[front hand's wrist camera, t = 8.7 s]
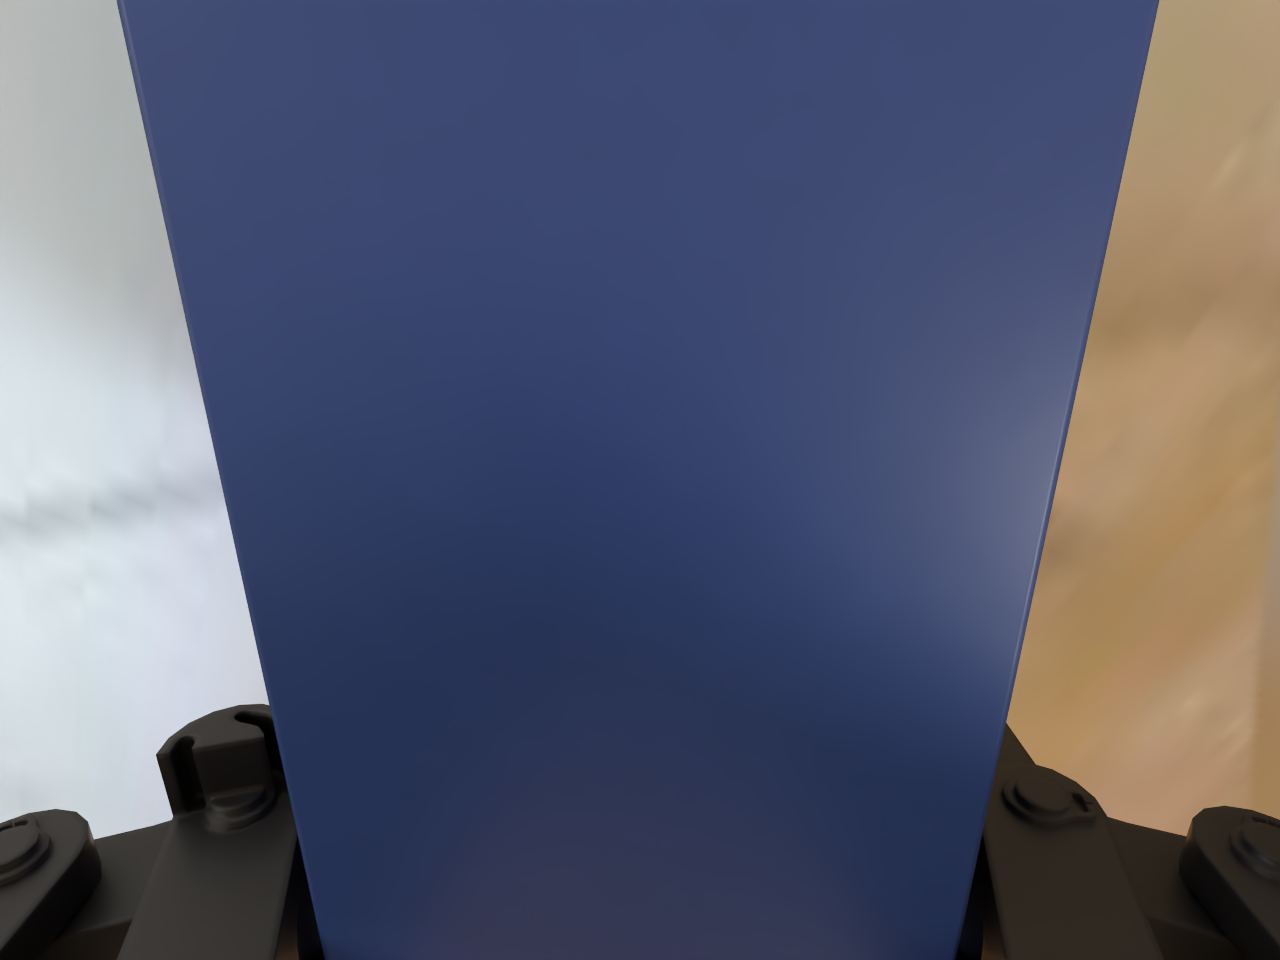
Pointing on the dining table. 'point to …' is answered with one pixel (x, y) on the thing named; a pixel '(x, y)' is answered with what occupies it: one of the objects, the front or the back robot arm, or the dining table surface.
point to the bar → (638, 440)
